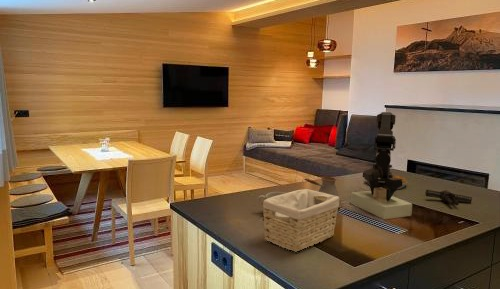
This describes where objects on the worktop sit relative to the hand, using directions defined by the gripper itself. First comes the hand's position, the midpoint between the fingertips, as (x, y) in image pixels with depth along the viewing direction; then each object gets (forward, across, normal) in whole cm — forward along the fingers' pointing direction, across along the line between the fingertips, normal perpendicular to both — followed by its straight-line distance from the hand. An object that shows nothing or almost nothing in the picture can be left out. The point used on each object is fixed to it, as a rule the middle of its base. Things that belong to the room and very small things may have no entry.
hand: (380, 197), depth 158 cm
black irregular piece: (+5, +5, +36) cm, 37 cm away
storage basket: (+6, +17, -48) cm, 52 cm away
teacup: (+5, -9, -46) cm, 47 cm away
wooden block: (+4, 0, 0) cm, 4 cm away
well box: (+5, 0, 0) cm, 5 cm away
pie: (+6, -33, +32) cm, 46 cm away
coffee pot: (+5, -8, -25) cm, 27 cm away
